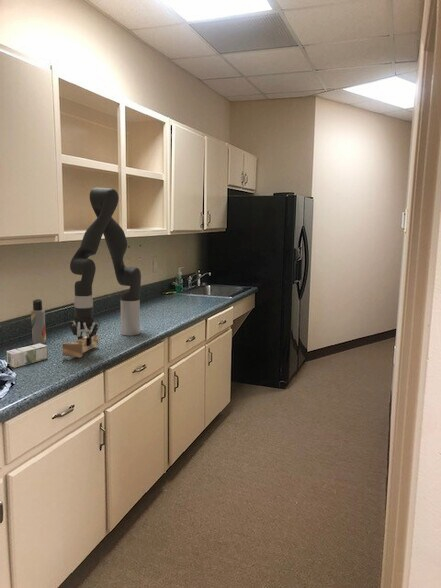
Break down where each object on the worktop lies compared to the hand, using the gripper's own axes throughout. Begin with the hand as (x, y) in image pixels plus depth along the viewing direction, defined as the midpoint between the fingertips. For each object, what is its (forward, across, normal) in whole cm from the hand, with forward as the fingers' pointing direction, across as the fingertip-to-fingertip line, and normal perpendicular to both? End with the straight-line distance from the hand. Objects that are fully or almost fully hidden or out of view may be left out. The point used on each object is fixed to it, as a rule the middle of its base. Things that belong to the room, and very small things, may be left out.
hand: (84, 345), depth 194 cm
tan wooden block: (+2, 0, 0) cm, 2 cm away
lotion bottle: (+4, +27, -7) cm, 28 cm away
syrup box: (+1, +12, +10) cm, 16 cm away
